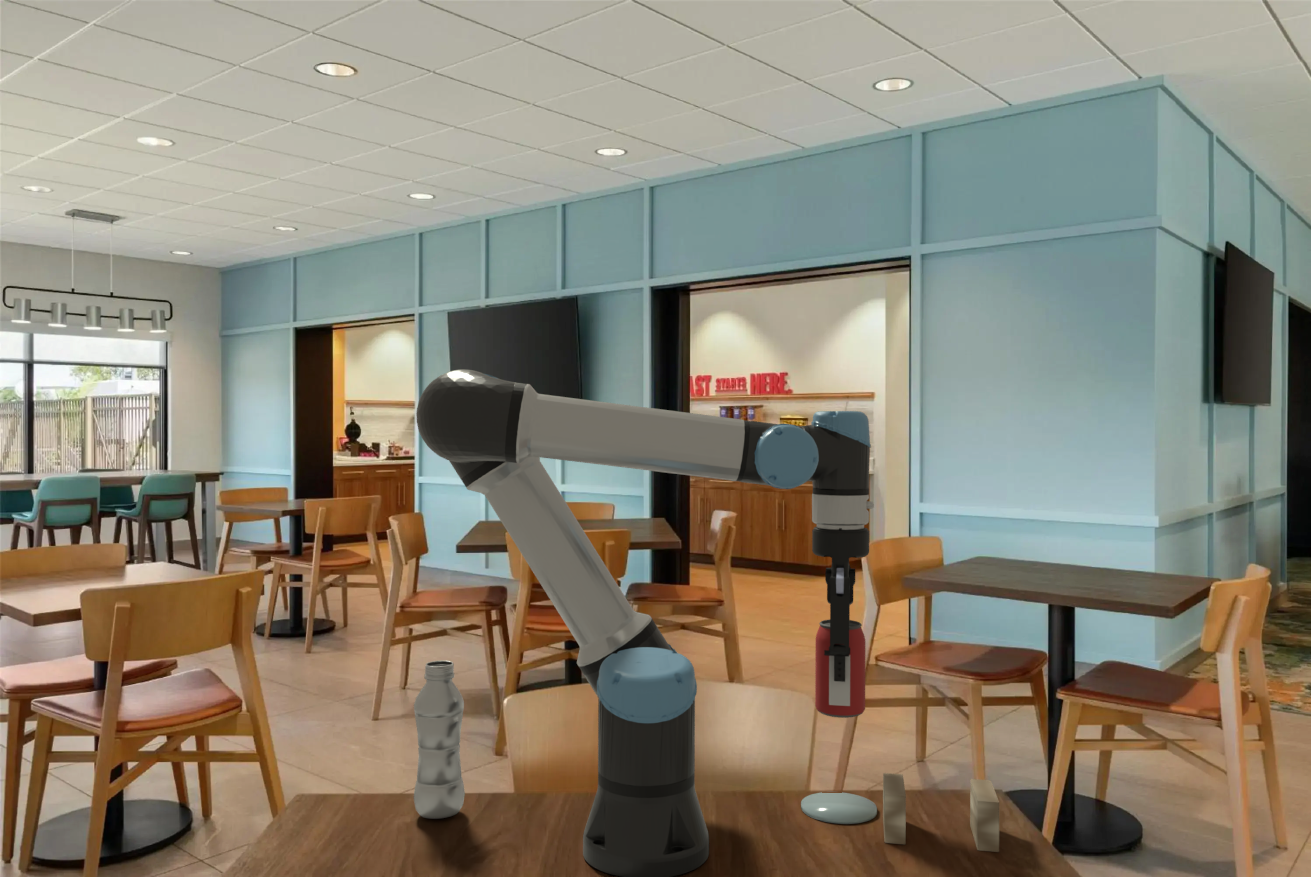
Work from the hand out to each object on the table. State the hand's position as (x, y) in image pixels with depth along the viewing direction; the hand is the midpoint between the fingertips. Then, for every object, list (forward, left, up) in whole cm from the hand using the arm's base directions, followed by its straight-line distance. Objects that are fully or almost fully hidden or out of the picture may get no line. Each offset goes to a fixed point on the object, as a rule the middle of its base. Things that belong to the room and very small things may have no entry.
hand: (839, 697), depth 137 cm
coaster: (0, 0, -15) cm, 15 cm away
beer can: (0, 0, -2) cm, 2 cm away
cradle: (+12, -6, -15) cm, 20 cm away
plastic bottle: (-52, -13, -15) cm, 55 cm away
